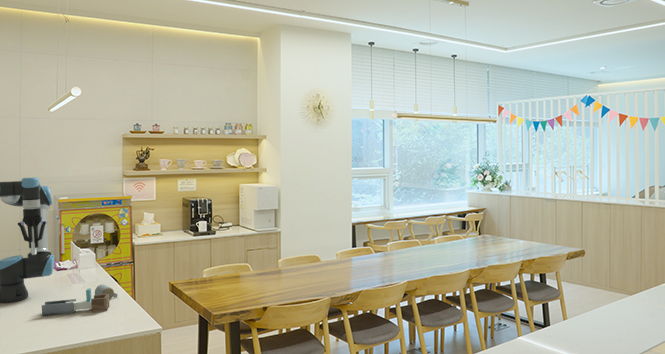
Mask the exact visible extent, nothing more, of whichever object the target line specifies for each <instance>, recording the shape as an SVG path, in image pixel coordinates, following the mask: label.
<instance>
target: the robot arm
mask: <svg viewBox="0 0 665 354" xmlns="http://www.w3.org/2000/svg"><path fill="white" fill-rule="evenodd" d="M39 180H40V179H39V178H38V177H23V178H22V179H21V180H15V181H0V200H1V202H2V203H4V204H5V205H9V206H11V207H12V206H13V207H22V208H23V209H22V216H23V218H22V220H21V221H20V222H17V226H18V227H19V228H20V231H21V235H22V237H23V240H24V242H28V248H29V249H30V251H29V252H28V253H27V257H24V256H23V255H20V254H19V255H13V256H9V257H8V256H7V257H5V258H2V259H0V304H9V303H15V302H20V301H23V300H26V299H27V298H29V291H28V288H27V286H26V284H25V280H26V279H35V278H41V277H42V278H44V277H48V276H51V275H52V274H53V271H54V267H55V266H54V265H55V255H54V254H52V251H50V250H49V239H48V238H49V237H48V236H49V235H48V212H47V211H48V210H49V209H50V208H51V207H50V206H52V205H53V200H52V194H51V190H50V187H49V186H48V185H41V184H40V181H39ZM25 225H26V227H25ZM26 228H27V230H26Z"/></svg>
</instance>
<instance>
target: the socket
mask: <svg viewBox="0 0 665 354" xmlns="http://www.w3.org/2000/svg"><path fill="white" fill-rule="evenodd" d="M91 305H92V308H91V313H99V312H107V311H108V310H109V307H110V300H109V294H102V295H95V294H94V295H93V298H91Z"/></svg>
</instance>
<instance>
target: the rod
mask: <svg viewBox="0 0 665 354" xmlns="http://www.w3.org/2000/svg"><path fill="white" fill-rule="evenodd" d="M85 293H86V294H85V295H86V299H84V300H76V301H72V302H73V303H74V310H76V311H78V310H89V309H90V310H92V305H91V299H92V288H91V287H90V288H89V287H88V288H87V289H86V290H85ZM66 303H70V302H66Z"/></svg>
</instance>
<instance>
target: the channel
mask: <svg viewBox="0 0 665 354" xmlns="http://www.w3.org/2000/svg"><path fill="white" fill-rule="evenodd" d="M72 301H77V298H74V299H72V298H71V299H60V300H51V301H45V302H44V304H41V317H51V316H62V315H70V314H71V315H72V314H74V313H75V312H76V311H77V310H74V303H73V302H72ZM66 302H70V303H66Z"/></svg>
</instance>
